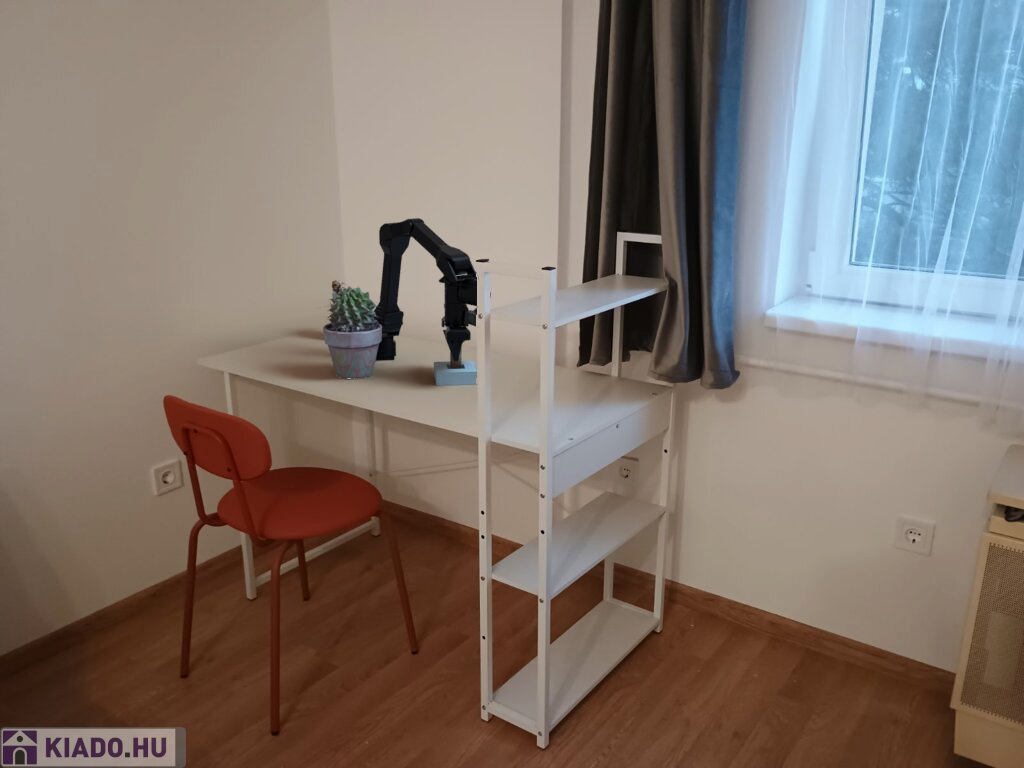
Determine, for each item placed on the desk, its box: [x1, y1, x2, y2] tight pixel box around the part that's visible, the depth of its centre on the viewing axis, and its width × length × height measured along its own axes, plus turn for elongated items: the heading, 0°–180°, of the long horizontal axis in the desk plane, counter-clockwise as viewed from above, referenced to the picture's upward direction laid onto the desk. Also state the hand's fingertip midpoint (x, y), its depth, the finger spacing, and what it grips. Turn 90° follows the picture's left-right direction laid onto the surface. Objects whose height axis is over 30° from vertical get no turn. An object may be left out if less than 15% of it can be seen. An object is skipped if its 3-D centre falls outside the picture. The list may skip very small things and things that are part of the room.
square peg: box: [449, 346, 463, 369], centre depth 235 cm, size 3×3×9 cm
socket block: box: [433, 360, 478, 387], centre depth 236 cm, size 11×11×4 cm
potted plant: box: [313, 280, 385, 380], centre depth 236 cm, size 18×20×25 cm
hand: (455, 359), depth 235 cm, fingers closed on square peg, 3 cm apart
